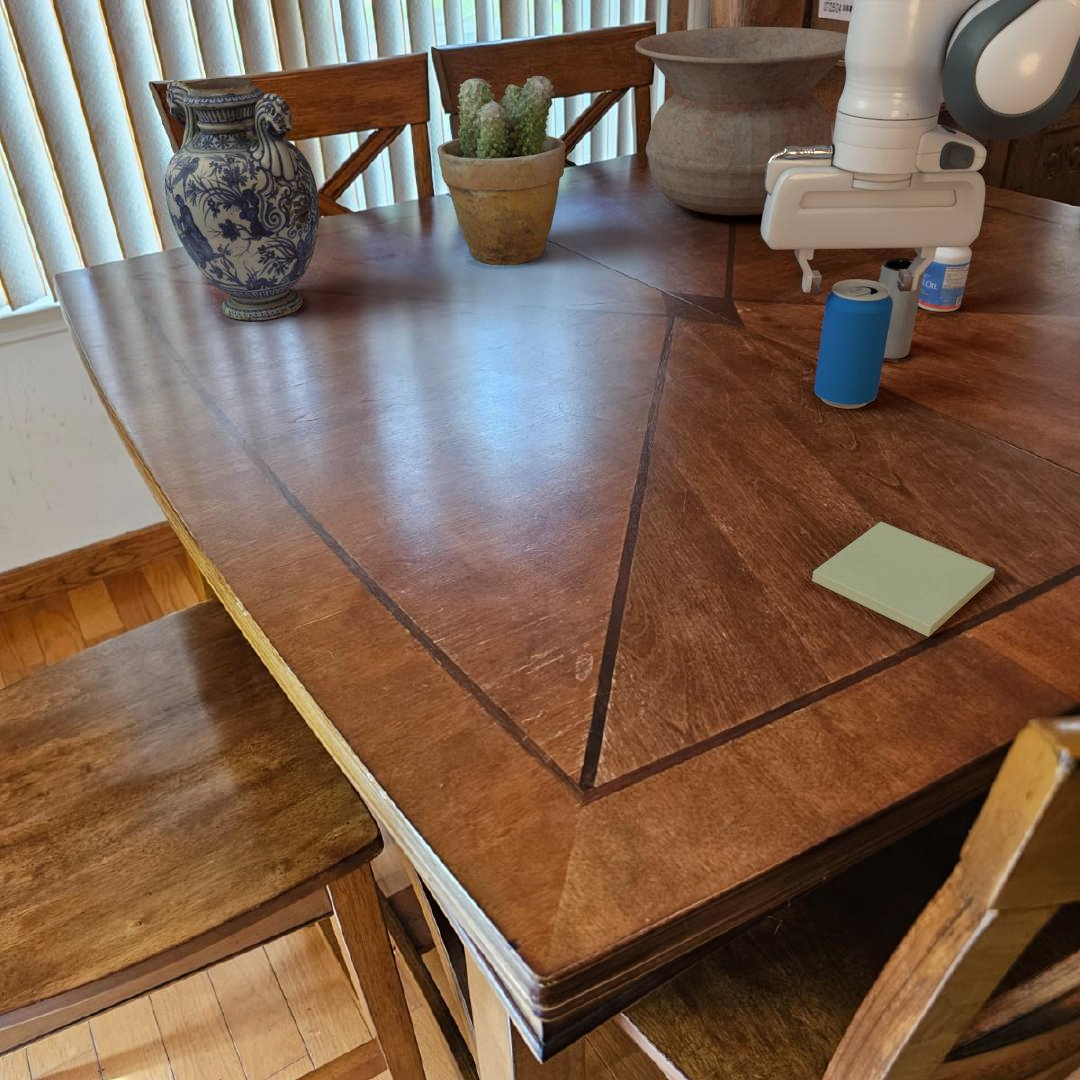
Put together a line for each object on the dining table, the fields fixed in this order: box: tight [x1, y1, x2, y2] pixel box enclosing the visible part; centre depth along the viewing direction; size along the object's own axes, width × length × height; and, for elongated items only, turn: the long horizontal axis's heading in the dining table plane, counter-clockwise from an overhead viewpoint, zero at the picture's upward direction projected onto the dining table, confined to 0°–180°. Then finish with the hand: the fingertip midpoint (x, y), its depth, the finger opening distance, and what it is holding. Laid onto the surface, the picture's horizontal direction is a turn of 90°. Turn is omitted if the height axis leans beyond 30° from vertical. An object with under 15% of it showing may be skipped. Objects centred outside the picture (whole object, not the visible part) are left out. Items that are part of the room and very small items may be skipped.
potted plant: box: [436, 75, 566, 266], centre depth 142 cm, size 18×19×25 cm
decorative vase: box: [164, 77, 320, 322], centre depth 126 cm, size 21×19×28 cm
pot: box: [634, 26, 848, 216], centre depth 158 cm, size 34×34×25 cm
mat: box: [811, 521, 996, 638], centre depth 78 cm, size 10×10×1 cm
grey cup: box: [878, 257, 925, 360], centre depth 112 cm, size 4×4×10 cm
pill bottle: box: [918, 246, 973, 313], centre depth 123 cm, size 6×5×10 cm
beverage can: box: [813, 278, 893, 410], centre depth 101 cm, size 6×6×12 cm
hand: (858, 290), depth 98 cm, fingers open, 8 cm apart
